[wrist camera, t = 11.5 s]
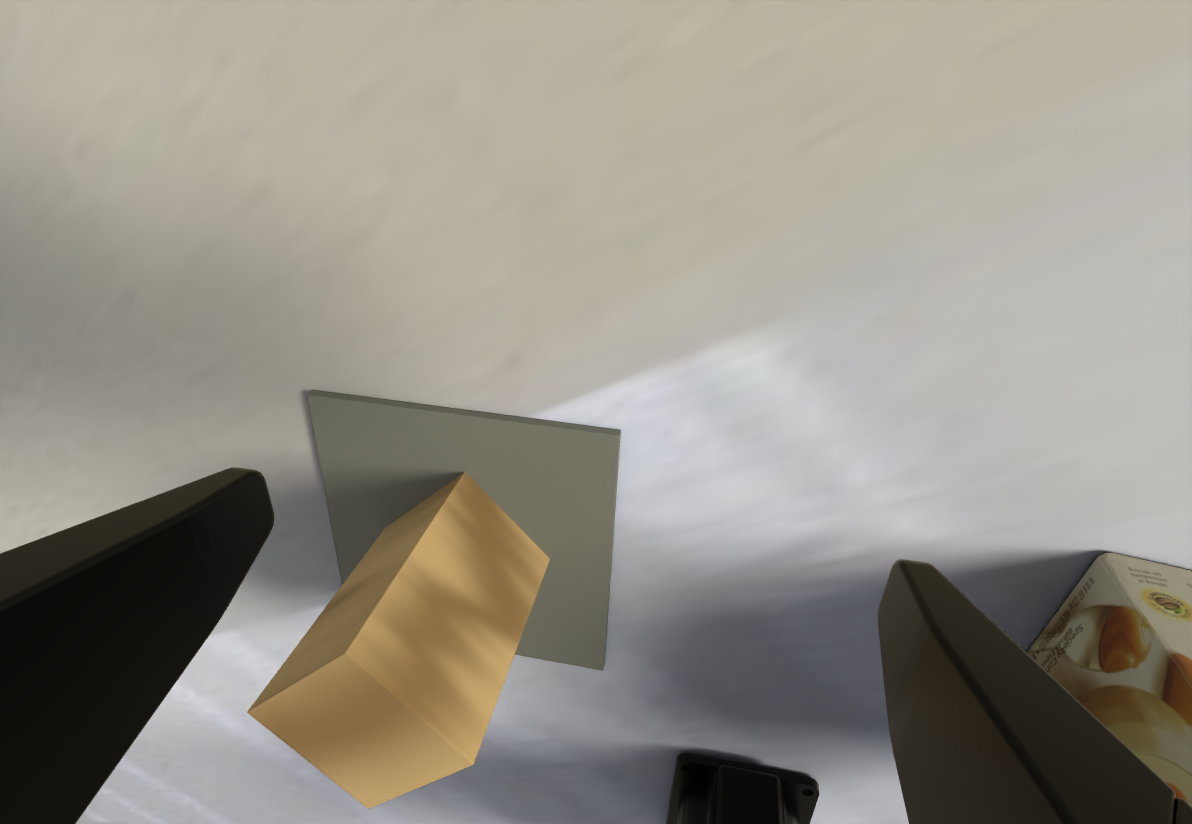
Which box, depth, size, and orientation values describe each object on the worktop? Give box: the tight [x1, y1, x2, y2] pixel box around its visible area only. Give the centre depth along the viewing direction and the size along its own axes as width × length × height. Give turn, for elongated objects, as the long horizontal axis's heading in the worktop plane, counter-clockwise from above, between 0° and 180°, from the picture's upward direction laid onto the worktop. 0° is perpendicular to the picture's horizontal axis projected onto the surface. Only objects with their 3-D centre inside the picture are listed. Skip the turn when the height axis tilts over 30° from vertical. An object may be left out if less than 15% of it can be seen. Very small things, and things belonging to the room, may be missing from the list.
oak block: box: [247, 472, 550, 809], centre depth 23 cm, size 5×5×9 cm
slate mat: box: [307, 390, 621, 670], centre depth 27 cm, size 12×12×1 cm
